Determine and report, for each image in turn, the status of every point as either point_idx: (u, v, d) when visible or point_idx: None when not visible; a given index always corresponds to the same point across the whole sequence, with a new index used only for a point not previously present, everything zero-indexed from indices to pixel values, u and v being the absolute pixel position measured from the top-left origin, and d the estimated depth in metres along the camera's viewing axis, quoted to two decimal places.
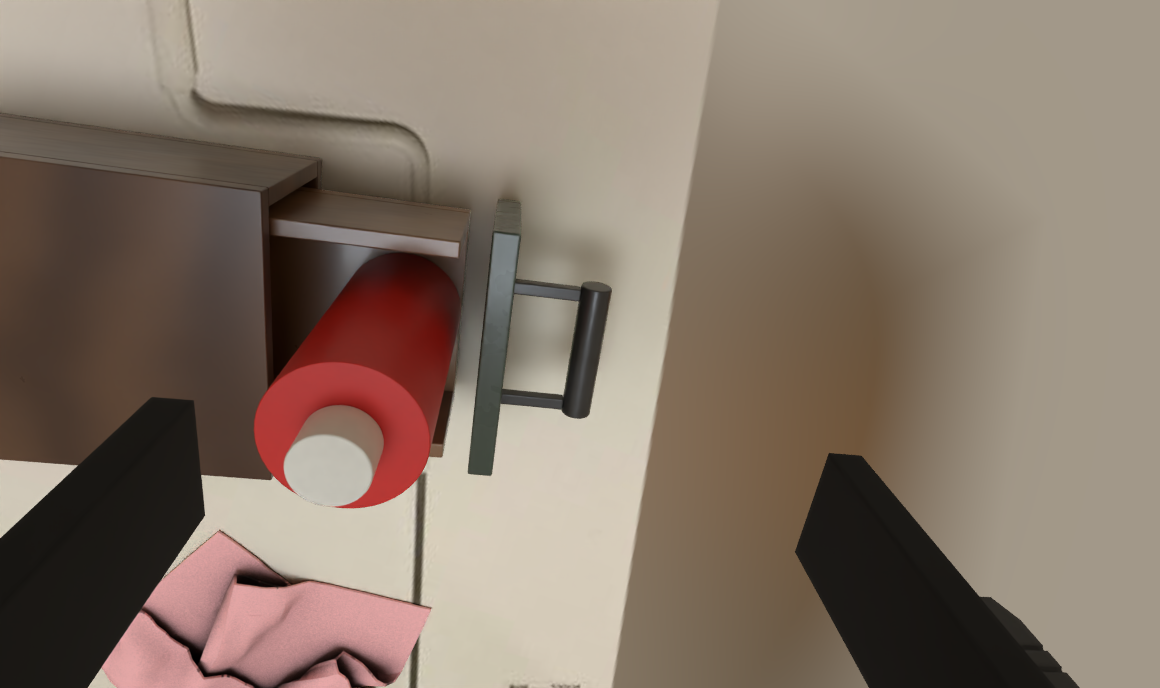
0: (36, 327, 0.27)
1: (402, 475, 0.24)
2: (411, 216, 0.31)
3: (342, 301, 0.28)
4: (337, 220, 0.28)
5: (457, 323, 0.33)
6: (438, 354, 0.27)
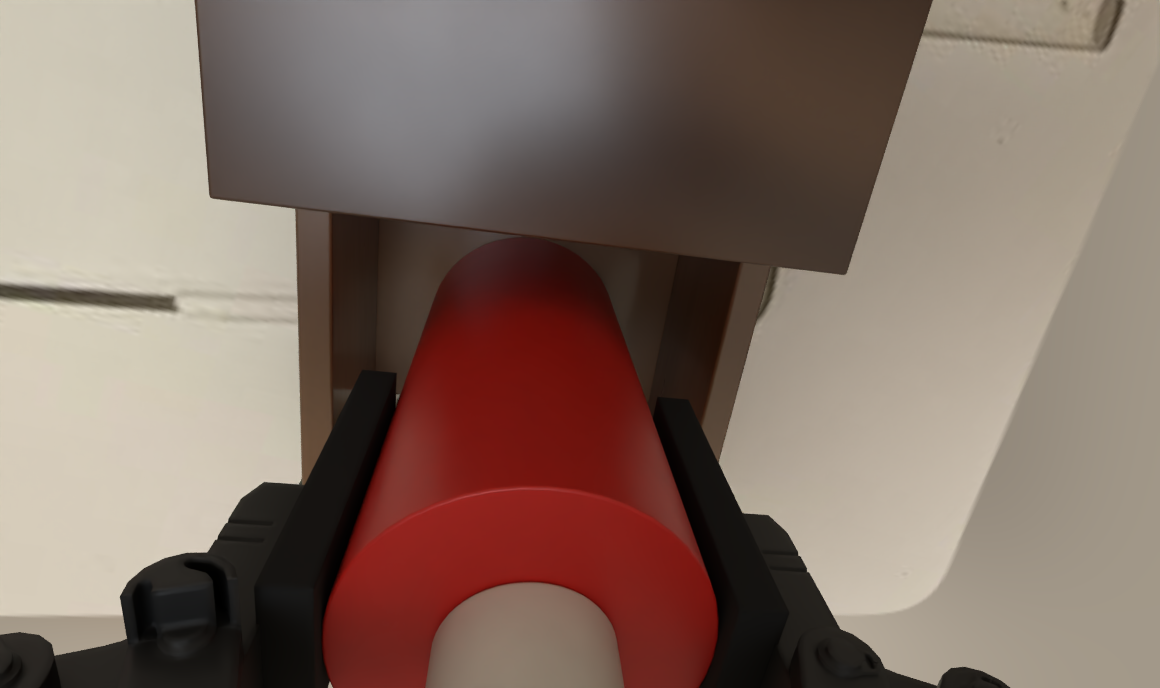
0: None
1: None
2: None
3: (636, 375, 0.16)
4: None
5: None
6: None
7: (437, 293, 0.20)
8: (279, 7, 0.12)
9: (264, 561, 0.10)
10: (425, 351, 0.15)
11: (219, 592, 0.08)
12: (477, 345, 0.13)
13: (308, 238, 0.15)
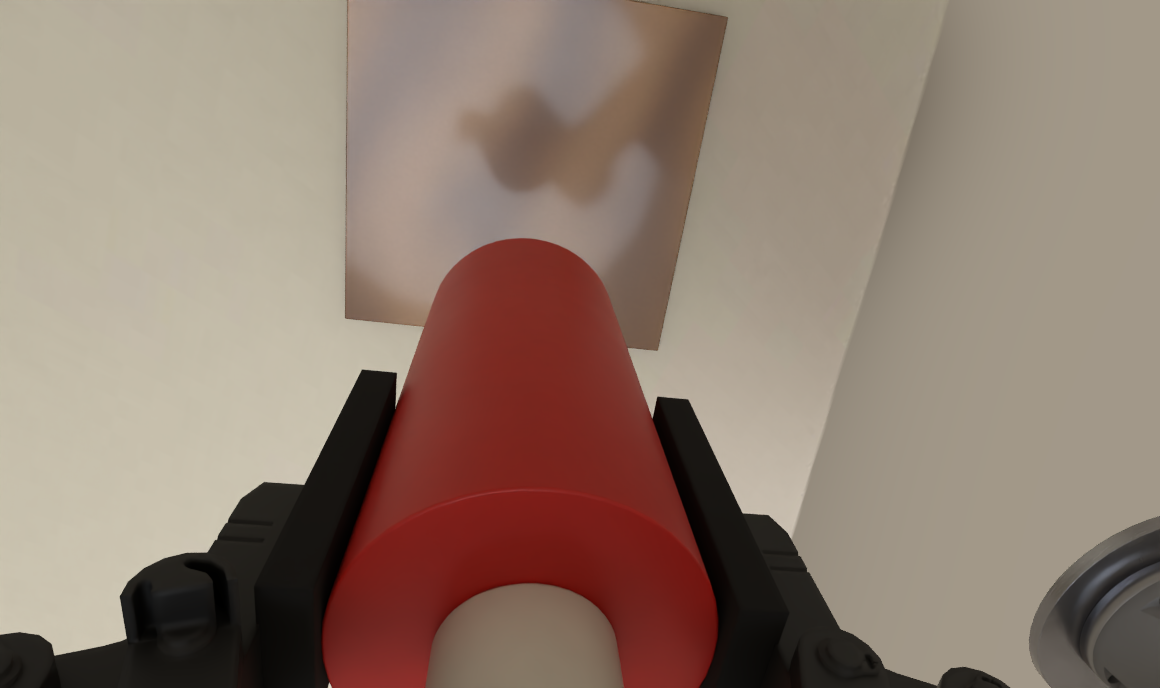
0: None
1: None
2: None
3: (636, 376, 0.16)
4: None
5: None
6: None
7: (437, 293, 0.20)
8: None
9: (264, 561, 0.10)
10: (425, 352, 0.15)
11: (219, 592, 0.08)
12: (477, 346, 0.13)
13: None
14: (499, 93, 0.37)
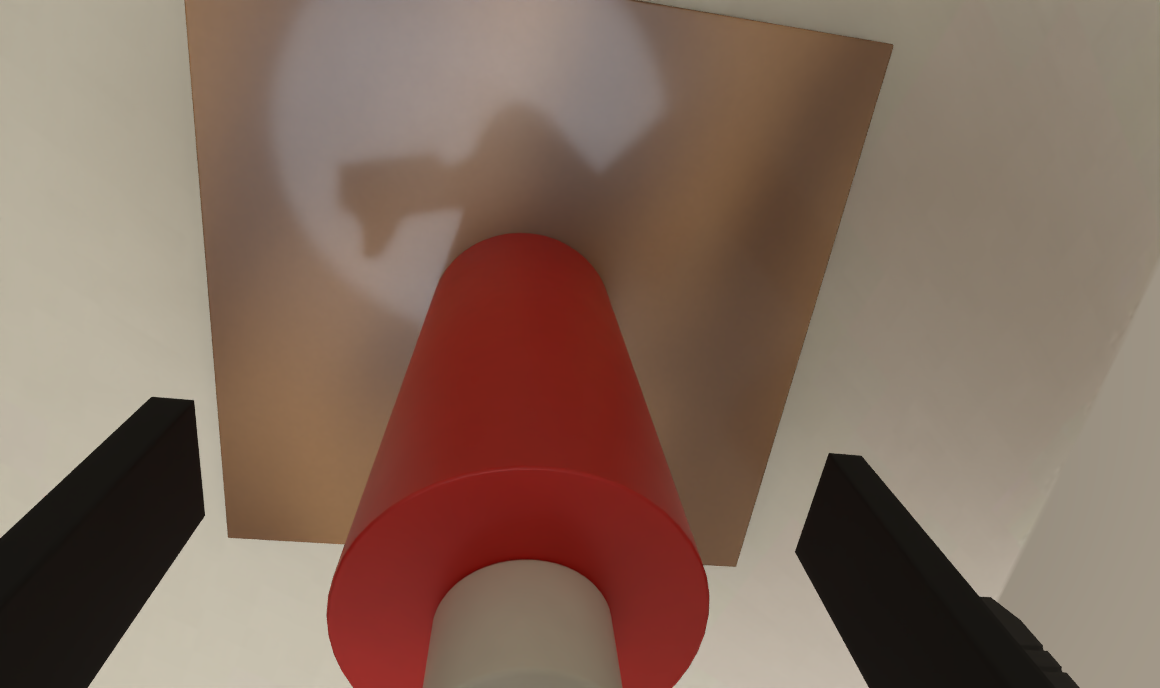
0: None
1: None
2: None
3: (632, 366, 0.16)
4: None
5: None
6: None
7: (437, 287, 0.20)
8: None
9: None
10: (426, 342, 0.15)
11: None
12: (476, 335, 0.14)
13: None
14: (478, 182, 0.20)
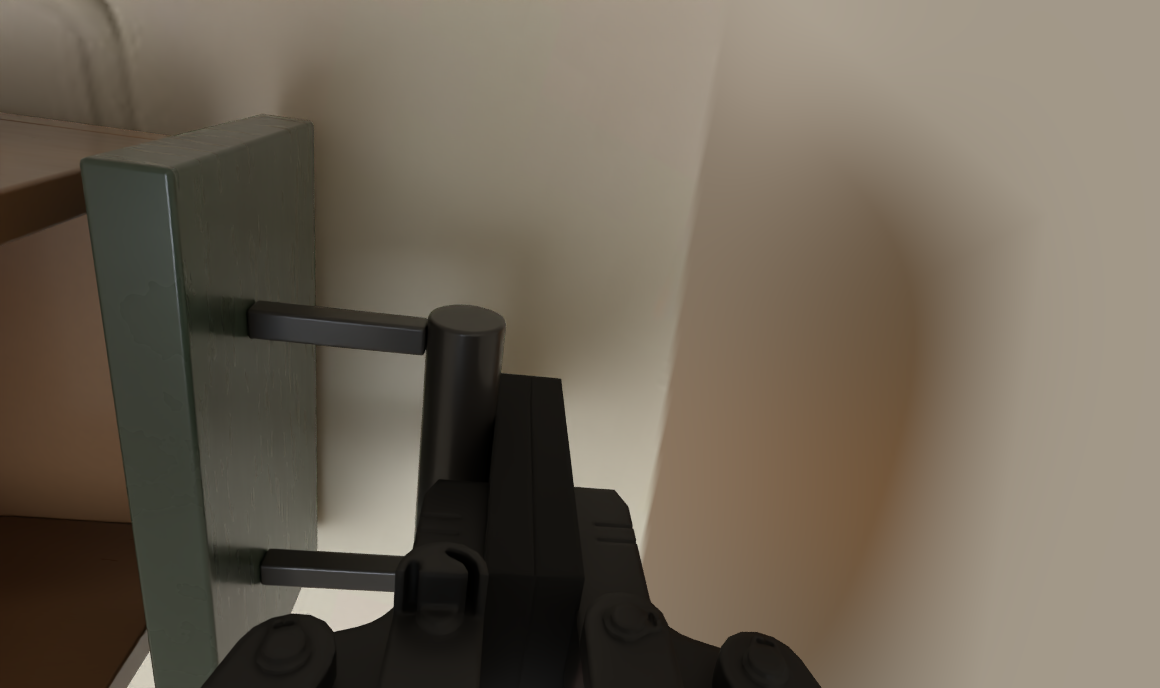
0: None
1: None
2: None
3: None
4: None
5: None
6: None
7: None
8: None
9: None
10: None
11: (468, 583, 0.09)
12: None
13: None
14: None
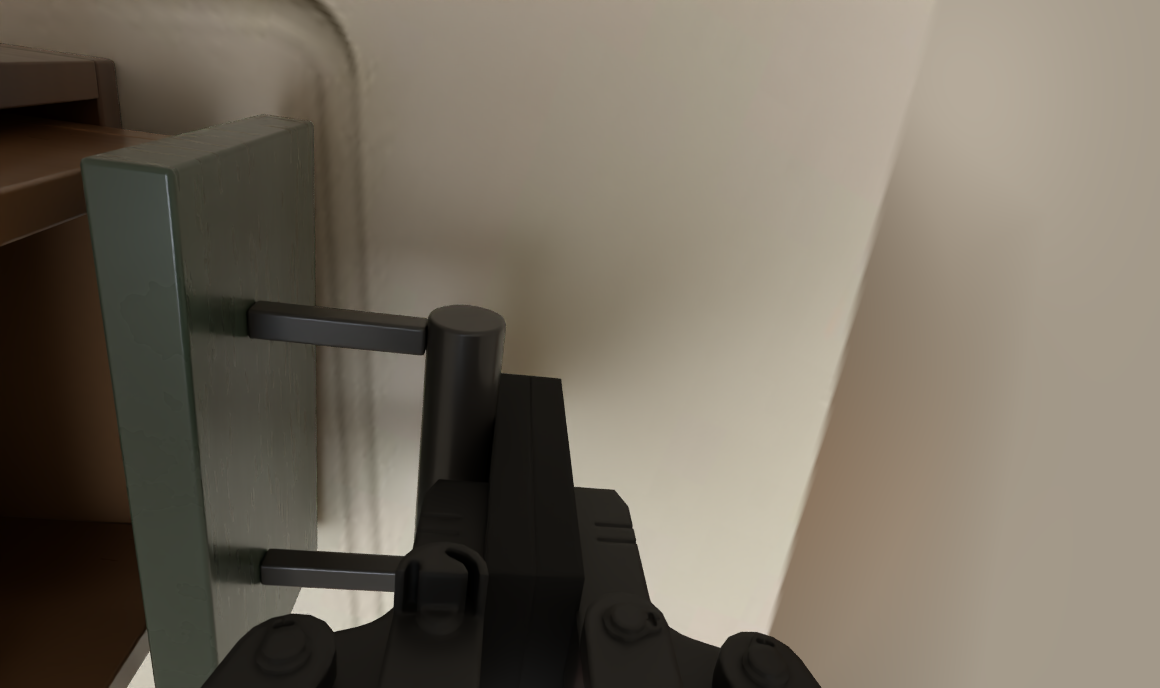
0: None
1: None
2: None
3: None
4: None
5: None
6: None
7: None
8: None
9: None
10: None
11: (468, 583, 0.09)
12: None
13: None
14: None
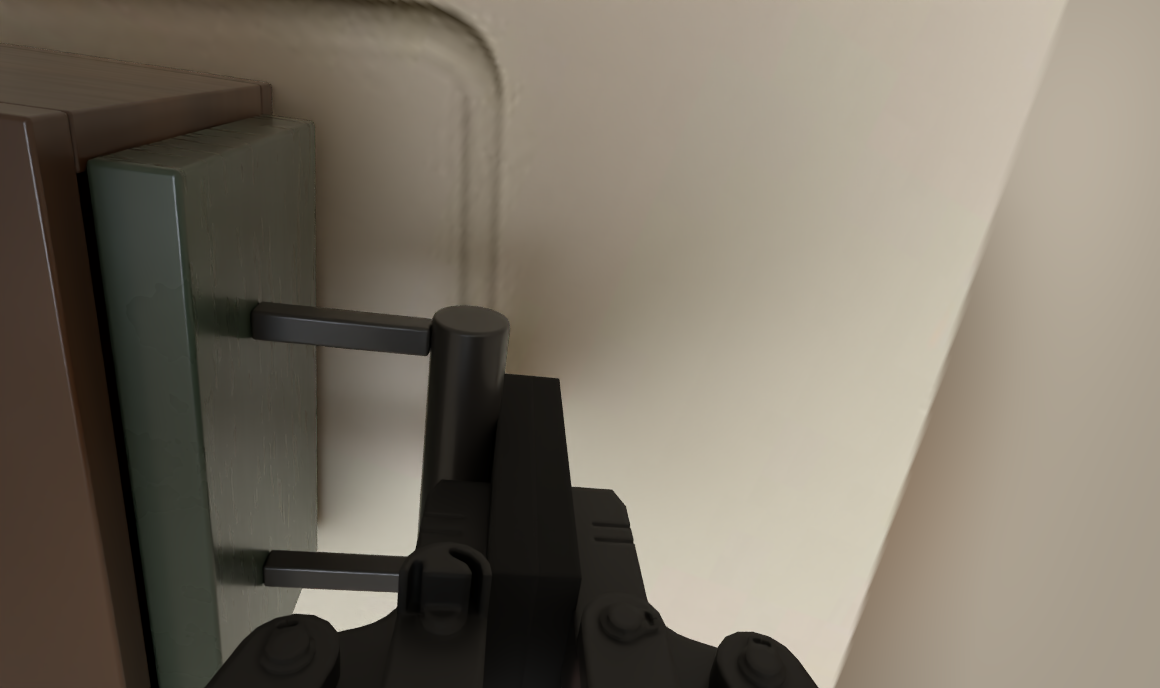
0: None
1: None
2: None
3: None
4: None
5: None
6: None
7: None
8: None
9: None
10: None
11: (472, 584, 0.09)
12: None
13: None
14: None
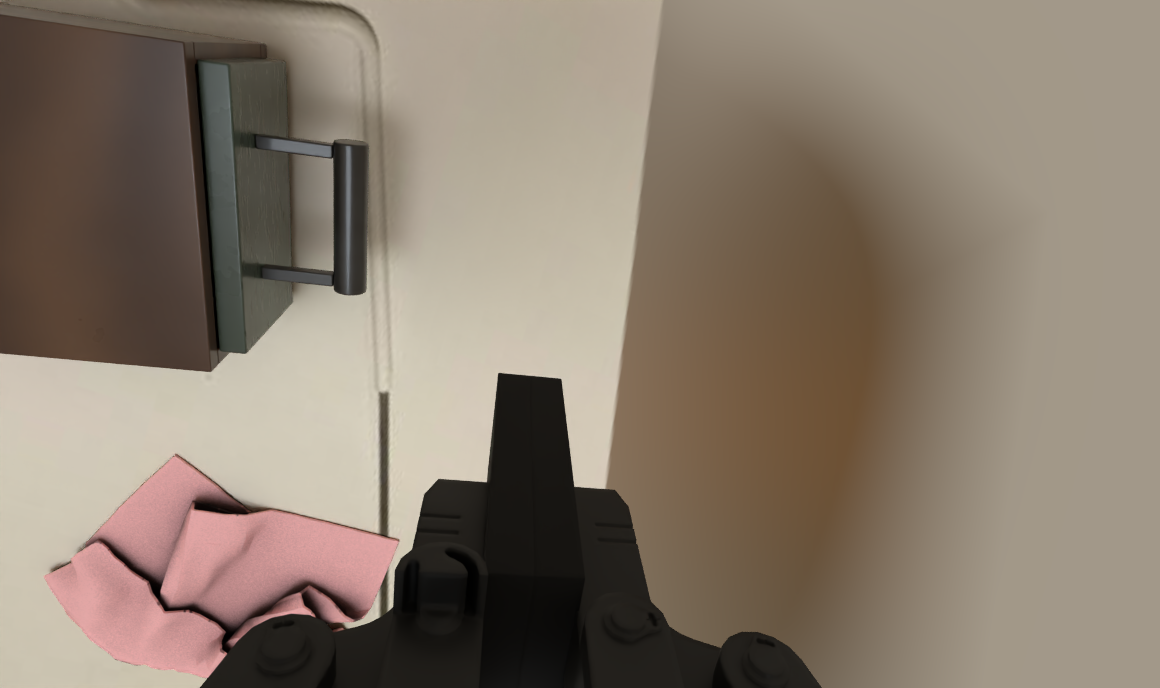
0: None
1: None
2: None
3: None
4: None
5: None
6: None
7: None
8: (118, 334, 0.28)
9: None
10: None
11: (468, 583, 0.09)
12: None
13: None
14: None
